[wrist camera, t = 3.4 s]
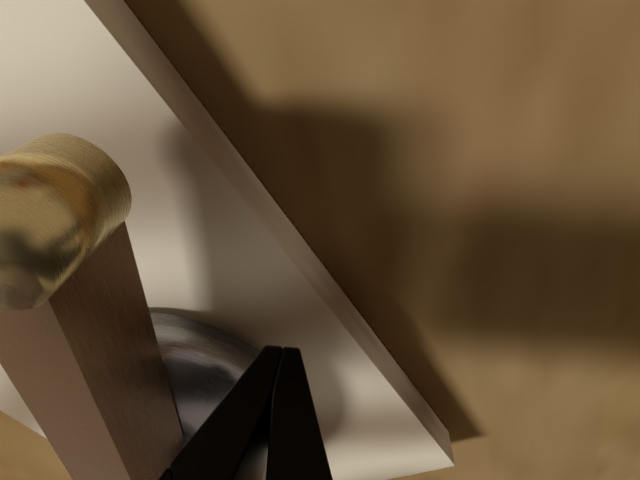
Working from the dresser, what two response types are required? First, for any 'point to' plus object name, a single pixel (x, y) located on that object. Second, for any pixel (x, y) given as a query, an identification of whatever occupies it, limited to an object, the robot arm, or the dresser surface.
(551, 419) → the dresser surface
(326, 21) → the dresser surface
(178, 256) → the ash stand
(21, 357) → the cam lever
